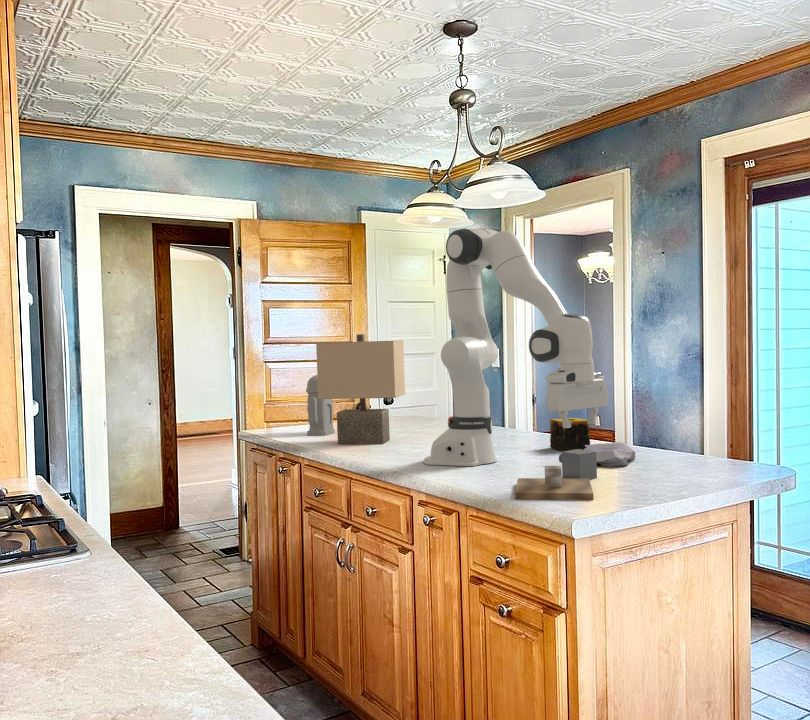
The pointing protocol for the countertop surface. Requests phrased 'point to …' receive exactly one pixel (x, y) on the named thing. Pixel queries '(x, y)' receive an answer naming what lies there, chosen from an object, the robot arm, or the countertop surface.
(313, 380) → the grey tall figure
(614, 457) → the stone
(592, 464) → the grey block with cylinder
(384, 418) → the lamp
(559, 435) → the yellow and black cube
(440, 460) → the robot arm
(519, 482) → the brown square plate
